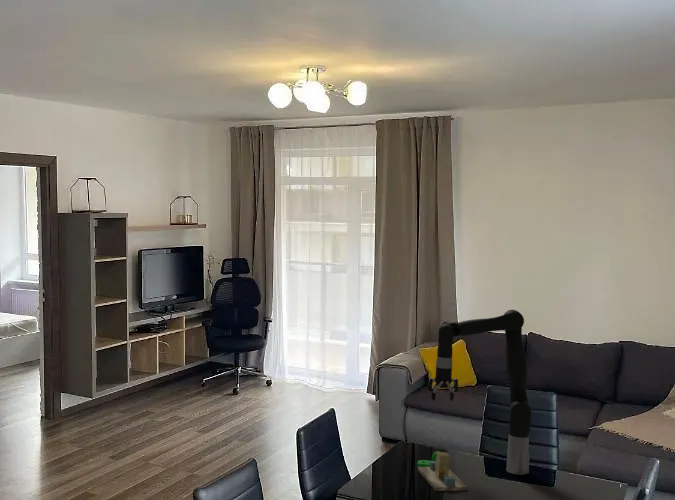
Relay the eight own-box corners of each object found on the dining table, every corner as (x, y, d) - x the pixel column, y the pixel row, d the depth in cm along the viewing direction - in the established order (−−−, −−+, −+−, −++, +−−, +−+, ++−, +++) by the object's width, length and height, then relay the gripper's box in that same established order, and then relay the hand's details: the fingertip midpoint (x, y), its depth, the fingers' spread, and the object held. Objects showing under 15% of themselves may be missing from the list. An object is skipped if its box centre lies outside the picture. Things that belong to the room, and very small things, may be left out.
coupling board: (446, 469, 311) (447, 460, 311) (466, 490, 287) (467, 479, 287) (417, 470, 309) (418, 460, 309) (435, 490, 284) (436, 480, 284)
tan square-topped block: (444, 474, 300) (446, 452, 300) (448, 478, 296) (449, 455, 296) (435, 474, 300) (436, 452, 299) (438, 478, 295) (439, 455, 295)
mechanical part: (443, 466, 317) (444, 449, 317) (443, 470, 311) (444, 453, 311) (417, 463, 319) (418, 446, 318) (417, 467, 313) (418, 450, 312)
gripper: (455, 365, 324) (453, 398, 325) (427, 364, 322) (425, 398, 322) (461, 368, 317) (459, 402, 317) (432, 367, 314) (430, 402, 315)
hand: (442, 400), depth 320 cm, fingers open, 8 cm apart
